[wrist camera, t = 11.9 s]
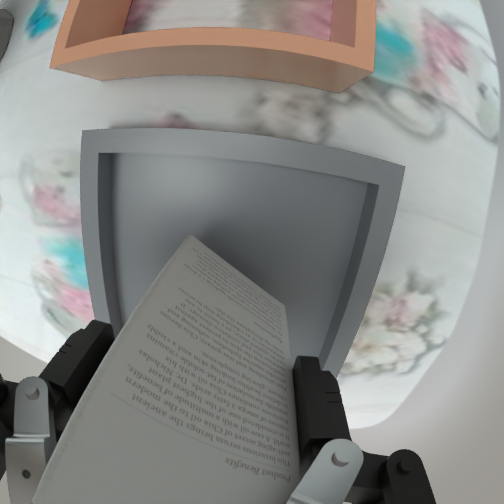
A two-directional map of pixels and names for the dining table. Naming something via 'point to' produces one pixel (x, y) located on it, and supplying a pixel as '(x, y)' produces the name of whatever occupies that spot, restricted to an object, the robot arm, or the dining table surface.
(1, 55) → the coffeepot
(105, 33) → the orange square frame
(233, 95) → the dining table surface
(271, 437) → the skincare box
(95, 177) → the grey tray
